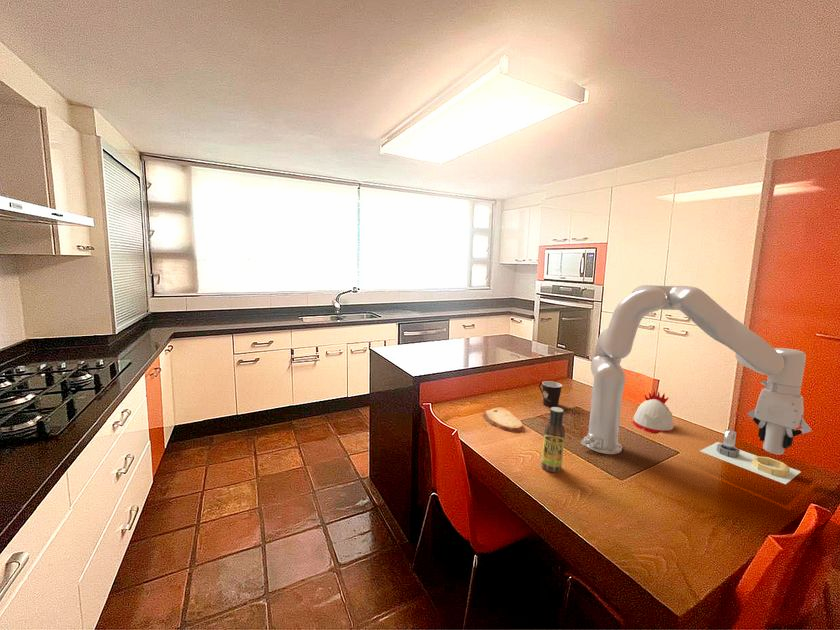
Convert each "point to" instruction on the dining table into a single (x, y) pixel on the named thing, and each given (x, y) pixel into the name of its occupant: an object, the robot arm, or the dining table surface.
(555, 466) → the sauce bottle
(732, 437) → the grey peg
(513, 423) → the bread slice
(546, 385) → the coffee mug
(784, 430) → the beverage can
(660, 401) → the white and red dome
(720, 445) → the socket board
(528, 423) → the dining table surface
